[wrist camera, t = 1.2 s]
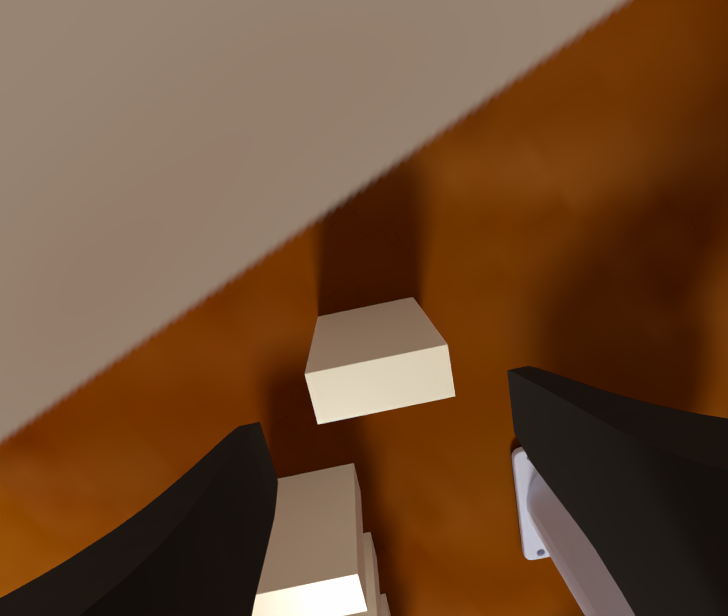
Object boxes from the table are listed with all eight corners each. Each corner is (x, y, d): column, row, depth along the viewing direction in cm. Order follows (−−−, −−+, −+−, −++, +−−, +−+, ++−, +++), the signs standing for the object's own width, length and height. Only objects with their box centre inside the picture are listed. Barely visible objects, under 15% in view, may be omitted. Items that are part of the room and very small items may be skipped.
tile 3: (370, 531, 24) (380, 661, 17) (376, 557, 24) (389, 692, 18) (290, 548, 24) (269, 684, 17) (298, 573, 24) (280, 714, 18)
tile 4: (353, 463, 23) (357, 573, 16) (360, 491, 23) (367, 610, 16) (268, 480, 23) (236, 598, 16) (277, 508, 23) (250, 634, 16)
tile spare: (412, 296, 20) (447, 344, 13) (419, 332, 21) (455, 396, 14) (318, 316, 20) (304, 374, 13) (326, 352, 21) (317, 424, 14)
